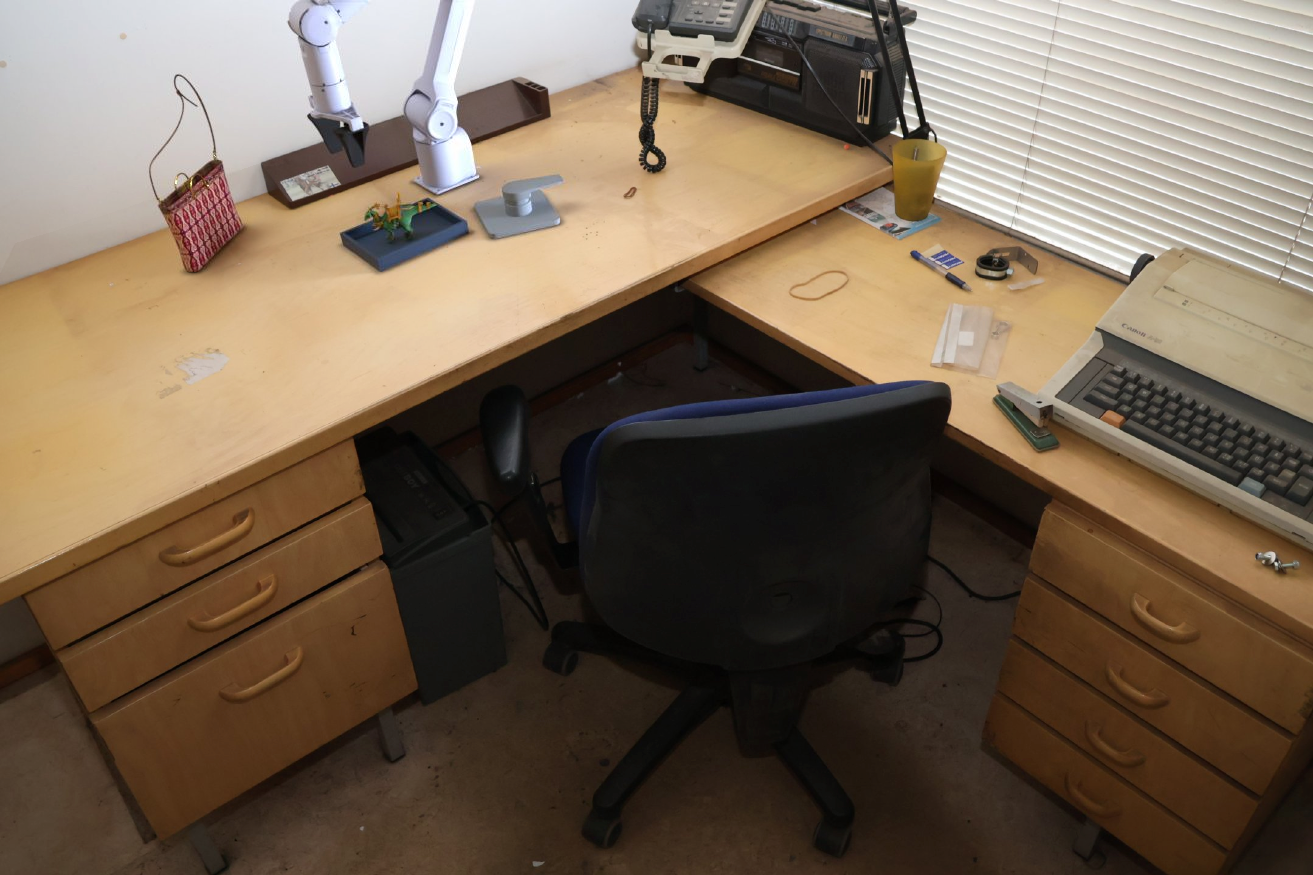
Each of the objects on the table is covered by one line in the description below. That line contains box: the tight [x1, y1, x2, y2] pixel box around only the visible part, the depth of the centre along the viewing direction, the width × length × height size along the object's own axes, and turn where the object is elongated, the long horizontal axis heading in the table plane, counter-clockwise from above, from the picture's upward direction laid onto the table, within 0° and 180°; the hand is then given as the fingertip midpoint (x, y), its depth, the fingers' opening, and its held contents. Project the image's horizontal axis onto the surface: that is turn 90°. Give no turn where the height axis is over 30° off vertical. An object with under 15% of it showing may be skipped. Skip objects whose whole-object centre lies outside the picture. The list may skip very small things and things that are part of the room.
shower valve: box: [473, 174, 565, 240], centre depth 172 cm, size 12×6×15 cm
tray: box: [339, 197, 470, 272], centre depth 168 cm, size 17×12×2 cm
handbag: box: [148, 73, 243, 273], centre depth 162 cm, size 7×21×25 cm, turn 168°
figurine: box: [363, 191, 437, 243], centre depth 165 cm, size 3×12×8 cm, turn 108°
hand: (347, 158), depth 171 cm, fingers open, 7 cm apart
